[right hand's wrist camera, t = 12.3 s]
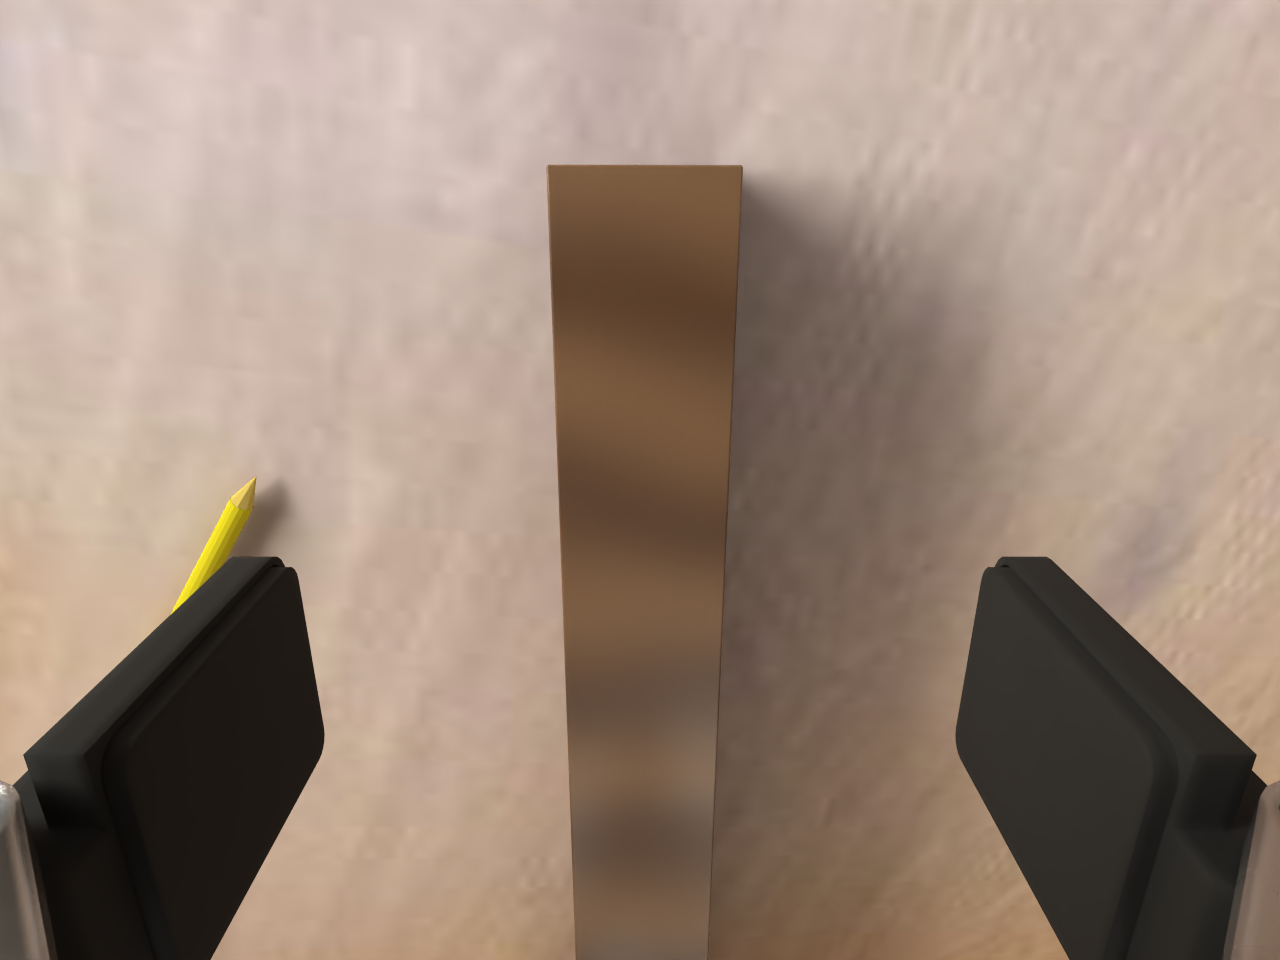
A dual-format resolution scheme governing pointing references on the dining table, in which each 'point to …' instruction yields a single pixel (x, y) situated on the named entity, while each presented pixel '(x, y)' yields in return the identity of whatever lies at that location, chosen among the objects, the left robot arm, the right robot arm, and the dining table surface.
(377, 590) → the dining table surface
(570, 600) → the post
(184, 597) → the pencil
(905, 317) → the dining table surface
